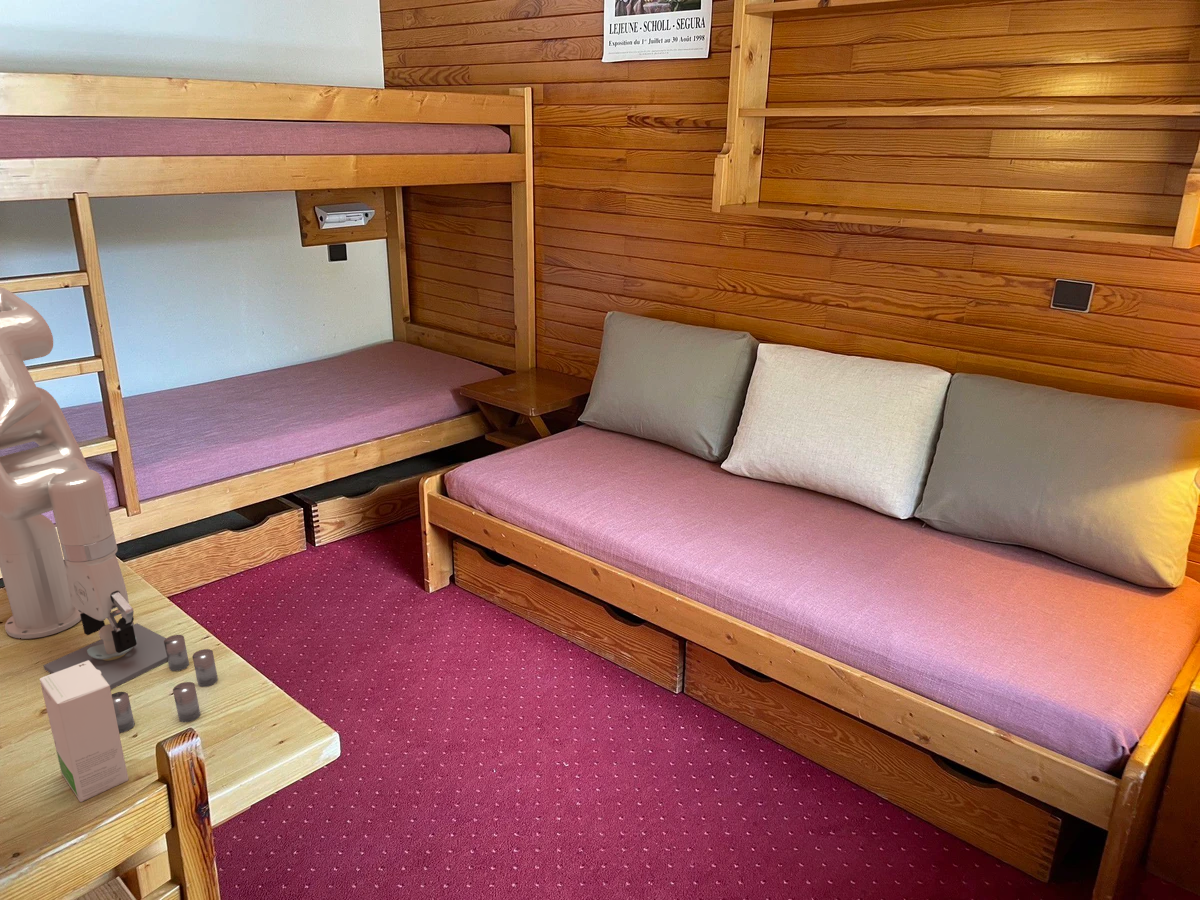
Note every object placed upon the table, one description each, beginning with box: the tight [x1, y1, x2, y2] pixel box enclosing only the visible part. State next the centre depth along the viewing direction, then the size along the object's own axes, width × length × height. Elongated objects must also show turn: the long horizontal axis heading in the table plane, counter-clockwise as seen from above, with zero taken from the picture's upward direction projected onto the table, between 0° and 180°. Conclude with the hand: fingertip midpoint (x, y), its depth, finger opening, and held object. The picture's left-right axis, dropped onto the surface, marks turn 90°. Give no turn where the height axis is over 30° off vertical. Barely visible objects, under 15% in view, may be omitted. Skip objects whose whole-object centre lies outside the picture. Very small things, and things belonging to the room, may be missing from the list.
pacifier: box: [87, 623, 137, 661], centre depth 151 cm, size 7×6×6 cm
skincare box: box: [38, 660, 129, 803], centre depth 122 cm, size 8×7×16 cm
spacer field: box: [111, 634, 219, 734], centre depth 140 cm, size 17×17×5 cm
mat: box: [42, 622, 168, 690], centre depth 152 cm, size 15×16×1 cm
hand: (110, 639), depth 151 cm, fingers open, 9 cm apart
